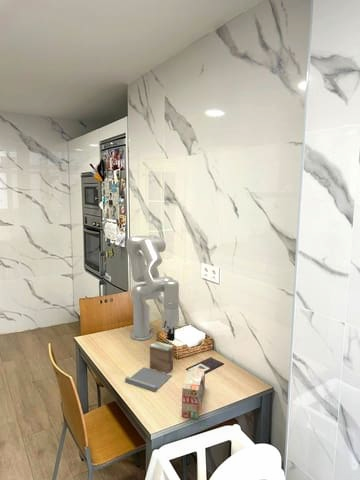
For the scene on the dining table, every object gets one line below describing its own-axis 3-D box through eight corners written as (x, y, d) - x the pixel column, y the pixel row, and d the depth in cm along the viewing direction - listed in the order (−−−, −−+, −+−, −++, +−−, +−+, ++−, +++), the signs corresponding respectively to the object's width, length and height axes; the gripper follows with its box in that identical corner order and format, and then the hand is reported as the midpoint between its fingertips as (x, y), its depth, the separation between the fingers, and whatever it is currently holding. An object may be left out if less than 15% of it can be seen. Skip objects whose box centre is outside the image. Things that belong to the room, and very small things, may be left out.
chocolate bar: (223, 363, 173) (199, 375, 161) (223, 365, 173) (199, 377, 161) (210, 357, 180) (185, 368, 168) (210, 358, 180) (185, 370, 168)
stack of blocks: (190, 387, 153) (191, 360, 151) (204, 388, 152) (205, 362, 150) (181, 417, 132) (182, 387, 131) (197, 419, 131) (198, 389, 129)
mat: (143, 367, 169) (143, 363, 169) (172, 376, 162) (172, 372, 161) (125, 382, 156) (125, 378, 155) (155, 392, 148) (155, 387, 148)
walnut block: (155, 364, 173) (155, 341, 171) (172, 368, 168) (173, 345, 167) (149, 368, 168) (150, 345, 167) (167, 373, 164) (167, 349, 162)
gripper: (171, 299, 180) (171, 333, 183) (156, 307, 167) (156, 344, 169) (184, 302, 177) (184, 336, 179) (170, 310, 164) (170, 347, 166)
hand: (171, 339), depth 174 cm, fingers closed
